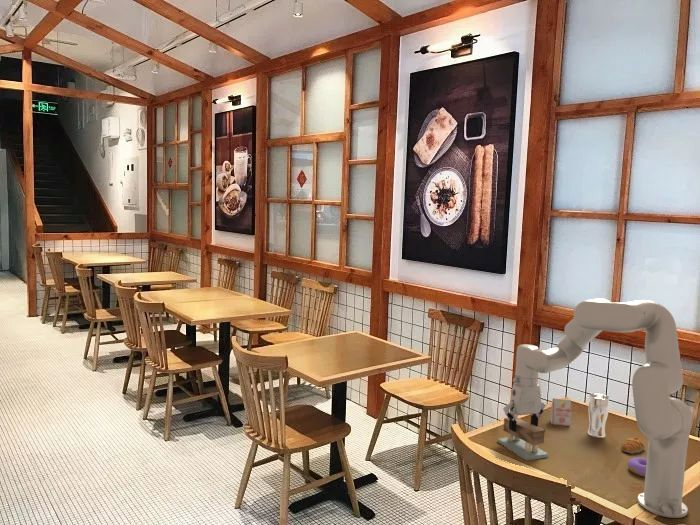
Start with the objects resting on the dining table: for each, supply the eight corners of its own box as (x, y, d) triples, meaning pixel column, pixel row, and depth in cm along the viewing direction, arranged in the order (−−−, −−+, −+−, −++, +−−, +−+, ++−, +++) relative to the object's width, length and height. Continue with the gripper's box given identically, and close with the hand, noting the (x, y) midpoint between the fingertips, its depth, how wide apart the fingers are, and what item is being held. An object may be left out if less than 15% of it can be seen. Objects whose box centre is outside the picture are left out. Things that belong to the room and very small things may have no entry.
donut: (630, 461, 192) (635, 448, 191) (660, 475, 186) (664, 462, 185) (622, 471, 184) (627, 458, 183) (653, 486, 179) (658, 473, 177)
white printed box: (550, 421, 228) (552, 396, 227) (568, 422, 227) (569, 398, 226) (552, 424, 224) (553, 399, 223) (570, 426, 223) (571, 401, 222)
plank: (543, 442, 194) (544, 429, 194) (533, 445, 192) (534, 432, 191) (513, 428, 206) (514, 416, 206) (503, 430, 204) (504, 418, 203)
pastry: (636, 457, 196) (637, 446, 196) (616, 451, 201) (616, 440, 201) (645, 449, 203) (646, 439, 203) (626, 444, 208) (626, 434, 207)
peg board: (547, 457, 193) (548, 444, 193) (525, 460, 190) (526, 447, 190) (518, 439, 208) (519, 426, 208) (497, 441, 205) (498, 429, 205)
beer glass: (585, 435, 213) (588, 397, 212) (587, 429, 220) (590, 392, 218) (605, 439, 210) (608, 400, 209) (607, 433, 216) (610, 395, 215)
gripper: (511, 385, 191) (508, 435, 192) (554, 381, 197) (550, 430, 198) (498, 379, 198) (495, 427, 199) (539, 375, 204) (536, 422, 205)
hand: (523, 428), depth 199 cm, fingers open, 8 cm apart
